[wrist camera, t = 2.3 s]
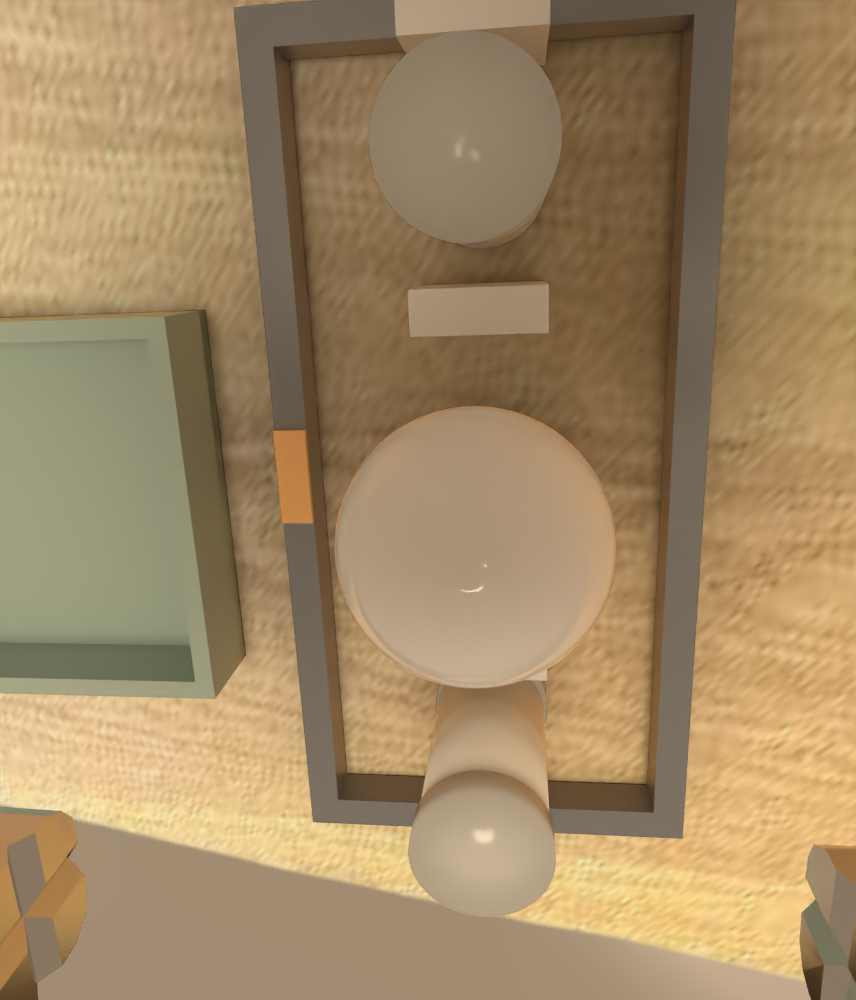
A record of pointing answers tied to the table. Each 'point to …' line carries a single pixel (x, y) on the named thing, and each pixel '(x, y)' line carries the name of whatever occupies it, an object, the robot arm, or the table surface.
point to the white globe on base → (466, 138)
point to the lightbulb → (475, 547)
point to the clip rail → (489, 311)
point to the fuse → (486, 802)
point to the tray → (113, 509)
